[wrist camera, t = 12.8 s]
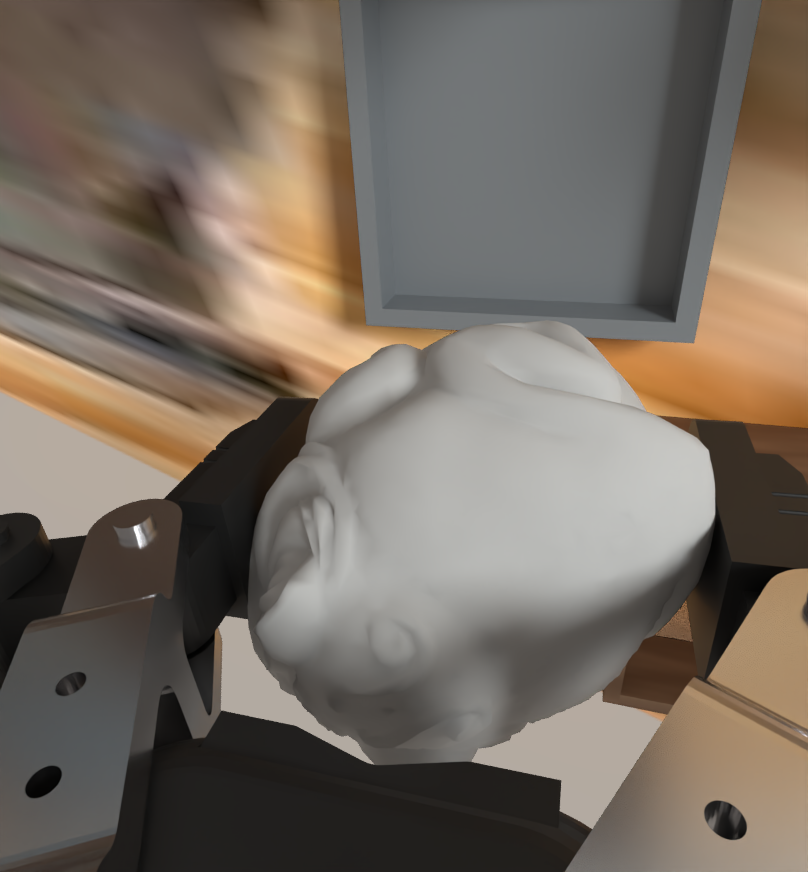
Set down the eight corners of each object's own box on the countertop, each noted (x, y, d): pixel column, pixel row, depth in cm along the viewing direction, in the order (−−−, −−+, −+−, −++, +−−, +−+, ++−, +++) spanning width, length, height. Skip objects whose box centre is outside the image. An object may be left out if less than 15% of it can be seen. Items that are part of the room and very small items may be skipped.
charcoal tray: (359, -47, 23) (334, -57, 21) (764, -91, 20) (783, -109, 18) (383, 306, 30) (366, 325, 28) (687, 320, 27) (693, 343, 24)
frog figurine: (295, 375, 14) (65, 607, 8) (587, 175, 10) (563, 326, 4) (453, 572, 15) (360, 884, 9) (752, 458, 12) (894, 842, 6)
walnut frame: (639, 414, 29) (643, 465, 26) (1029, 447, 25) (1100, 513, 22) (603, 636, 37) (602, 701, 33) (899, 688, 33) (935, 768, 29)
